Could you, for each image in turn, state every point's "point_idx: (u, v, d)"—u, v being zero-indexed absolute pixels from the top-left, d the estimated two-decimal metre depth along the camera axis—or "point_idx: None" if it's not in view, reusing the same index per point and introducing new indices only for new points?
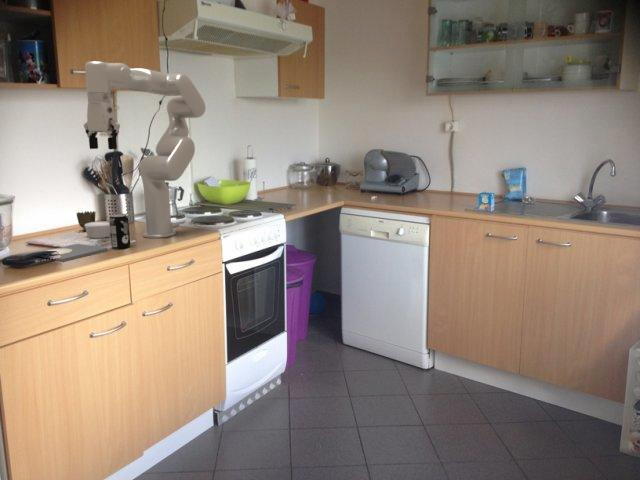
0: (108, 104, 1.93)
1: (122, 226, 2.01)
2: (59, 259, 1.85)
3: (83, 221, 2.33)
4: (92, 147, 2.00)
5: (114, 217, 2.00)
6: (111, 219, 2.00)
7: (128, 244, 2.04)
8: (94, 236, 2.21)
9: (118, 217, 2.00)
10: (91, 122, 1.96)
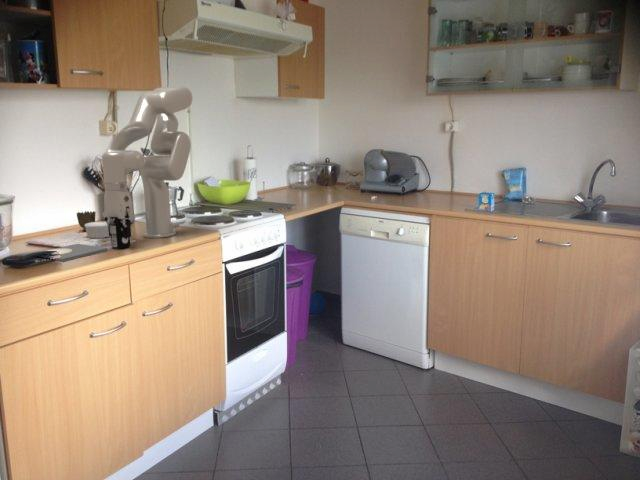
0: (125, 193, 1.99)
1: (122, 226, 2.01)
2: (59, 259, 1.85)
3: (83, 221, 2.33)
4: None
5: (114, 217, 2.00)
6: (111, 219, 2.00)
7: (128, 244, 2.04)
8: (94, 236, 2.21)
9: None
10: (108, 209, 2.01)
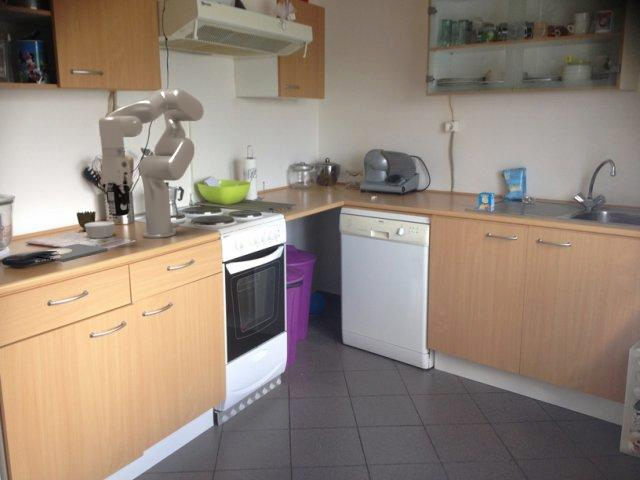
0: (122, 159, 1.97)
1: (120, 193, 1.99)
2: (59, 259, 1.85)
3: (83, 221, 2.33)
4: None
5: (112, 183, 1.98)
6: (109, 185, 1.98)
7: (127, 211, 2.02)
8: (94, 236, 2.21)
9: None
10: (106, 176, 1.99)
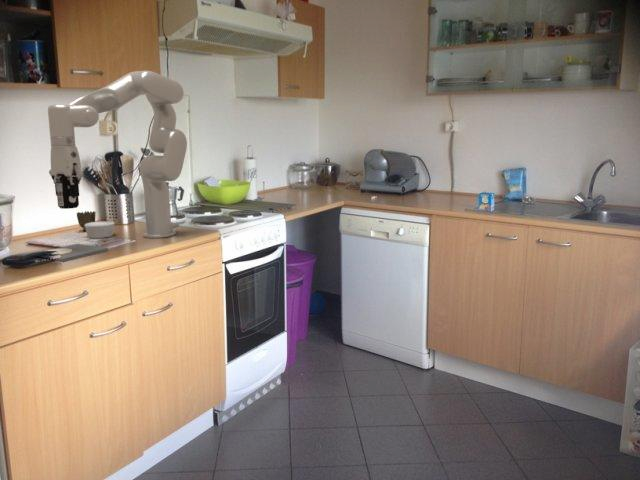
0: (72, 148, 1.88)
1: (69, 184, 1.89)
2: (59, 259, 1.85)
3: (83, 221, 2.33)
4: None
5: (60, 174, 1.89)
6: (57, 176, 1.89)
7: (76, 204, 1.93)
8: (94, 236, 2.21)
9: None
10: (54, 166, 1.90)
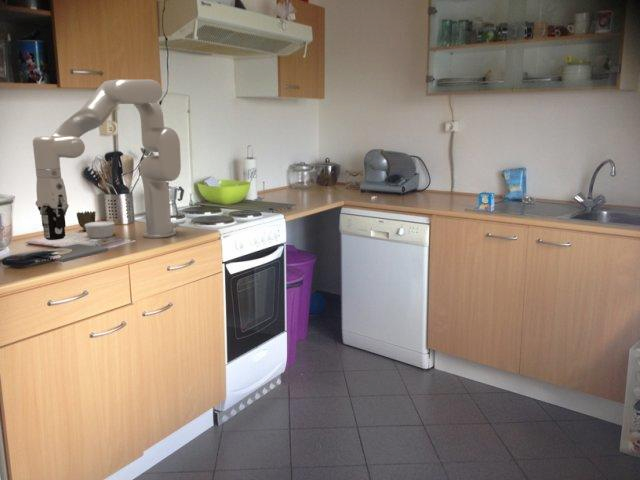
0: (57, 180, 1.87)
1: (55, 216, 1.89)
2: (59, 259, 1.85)
3: (83, 221, 2.33)
4: None
5: (46, 206, 1.88)
6: (43, 208, 1.88)
7: (63, 235, 1.92)
8: (94, 236, 2.21)
9: None
10: (40, 198, 1.89)
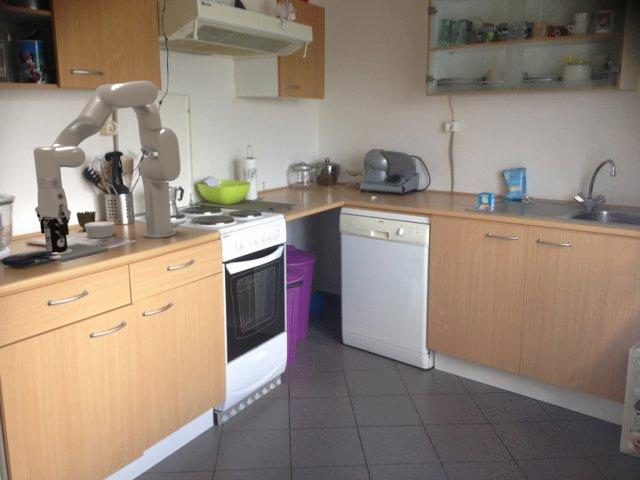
0: (58, 190, 1.88)
1: (57, 229, 1.90)
2: (59, 259, 1.85)
3: (83, 221, 2.33)
4: (44, 232, 1.94)
5: (48, 219, 1.89)
6: (45, 221, 1.90)
7: (65, 248, 1.93)
8: (94, 236, 2.21)
9: (52, 219, 1.89)
10: (41, 208, 1.90)
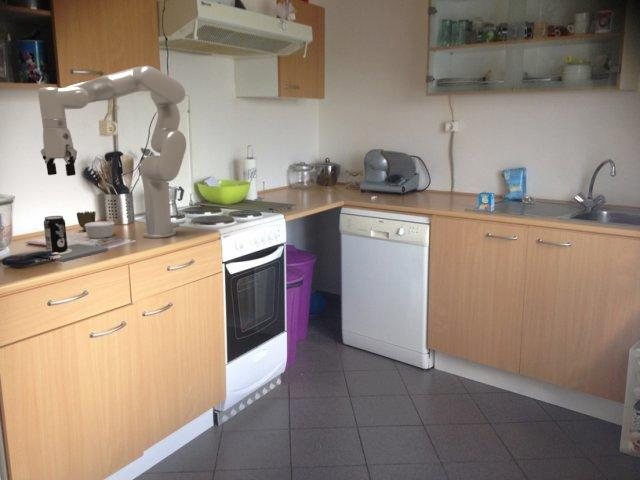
0: (64, 130, 1.90)
1: (57, 229, 1.90)
2: (59, 259, 1.85)
3: (83, 221, 2.33)
4: (50, 173, 1.97)
5: (48, 219, 1.89)
6: (45, 221, 1.90)
7: (65, 248, 1.93)
8: (94, 236, 2.21)
9: (52, 219, 1.89)
10: (47, 149, 1.93)
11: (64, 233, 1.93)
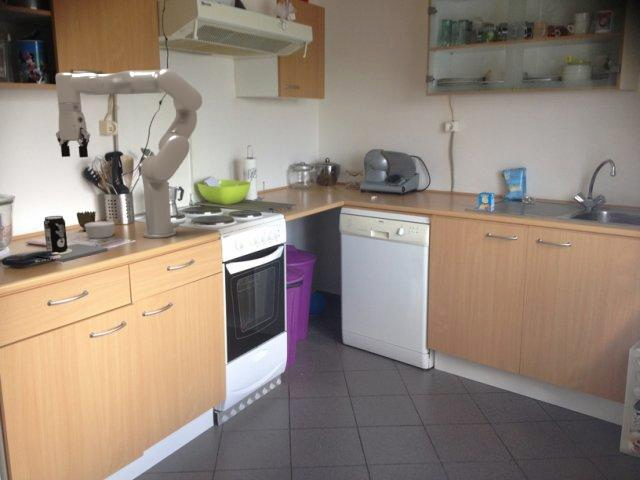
0: (78, 114, 2.00)
1: (57, 229, 1.90)
2: (59, 259, 1.85)
3: (83, 221, 2.33)
4: (64, 155, 2.07)
5: (48, 219, 1.89)
6: (45, 221, 1.90)
7: (65, 248, 1.93)
8: (94, 236, 2.21)
9: (52, 219, 1.89)
10: (62, 131, 2.03)
11: (64, 233, 1.93)
